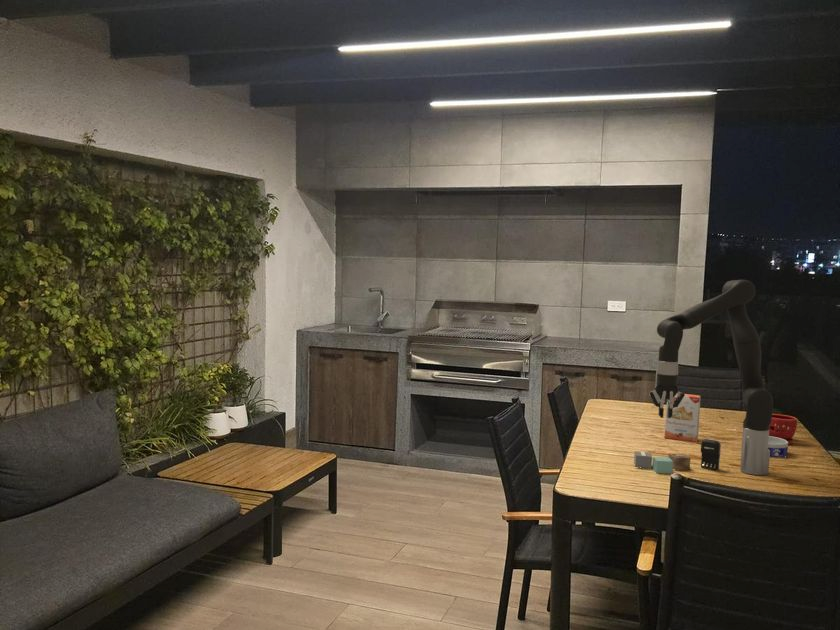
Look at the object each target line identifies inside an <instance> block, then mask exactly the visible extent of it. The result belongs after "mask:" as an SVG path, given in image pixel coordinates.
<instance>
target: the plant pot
mask: <svg viewBox="0 0 840 630" xmlns="http://www.w3.org/2000/svg"><path fill="white" fill-rule="evenodd" d="M797 426H798V418H796V417H794V416H790V415H785V414H775V413H772V420H771V424H770V427H769V436H772V437H777V438H781V439H784V440H786V441H788V445H790V444H792V443H794V441H795V439H794V438H793V437H794V436H795V434H796V431H797Z"/></svg>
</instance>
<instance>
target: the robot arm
mask: <svg viewBox="0 0 840 630" xmlns="http://www.w3.org/2000/svg"><path fill="white" fill-rule="evenodd" d="M755 295H756V287H755V284H754V283H753V282H752V281H750V280H746V279H733V280H732V279H731V280H728V281H726V282H725V283H724V285H723V287H722V294H719V295H717V296H714V297H712V298H710V299H708V300H705V301H702V302H700V303H697V304H695V305H693V306H691V307H690V308H688V309H686V310H684V311H682V312H681V313H677V314H674V315H673V316H670V317H669V316H668V317H667V318H665V319H663V320H661V321H660V322H659V323H658V324H657V326H656V333H657V334H658V336H659V337H661V338H663V339H664V342H663V345H661V346H659V349H658V362H657V366H656V368H657V370H656V386H655V388H654V389H653V390H651V391H650V390H649V391H648V395H649V397H650V399H651V401H652V404H653V406H655V407H658V416H659V417H660V419H663V418H664V404H665V402H666V401H667V400H668V410H667V417H668V418H671V417H672V412H673V408H674V407H678V405H679V404H680V402H681V401H682V399H683V397H684V396H685V394H686V393H683V391H682V392H681V391H679V388H678V381H679V350H680V348H681V344H682V341H683V336H684V330H690V329H694V328H695V327H697V326H699V325H701V324H703V323H705V322H706V321H708V320H709V319H711V318H714V317H715V316H717V315H719V314H721V313H723V312H725V311H726V312H727V316H728V319H729V323H730V324H729V325H730V330H731V331H730V332H731V335H732V340H733V341H732V343H733V347H734V351H735V357H736V360H737V366H738V368H739V372H740V373H739V374H740V378H741V379H740V380H741V390H742V400H743V402H744V404H745V406H746V411H745V418H744V419H743V421H742V423H743V424H742V436H741V437H742V438H741V452H740V453H741V454H740V455H741V456H740V466H739V467H740V468H739V470H740V471H741V472H742V473H745V474H748V475H754V476H764V475H769V474H770V473H769V471H770V459H771V457H770V450H769V449H768V441H769V427H770V424H771V420H772V414H773V411H774V409H773V408H774V398H773V396H772V394H771V392H770V391H768V390H767V389H766V387H765V384H764V381H763V378H762V372H761V369H762V358H763V356H762V347H761V340H760V337H759V333H758V330H757V329H756V327H755V326H754V324H753V322H752V321H751V320H750V318H749V316H748V313H747V308H746V303H749V302H751V301H753V298H754V297H755ZM676 394H677V398H676V400H675V402H674V403H673V398H674V396H675V395H676ZM657 395H658V397H659V398H658V400H657V398H656V396H657ZM665 400H666V401H665Z"/></svg>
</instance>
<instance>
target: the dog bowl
mask: <svg viewBox="0 0 840 630" xmlns="http://www.w3.org/2000/svg"><path fill="white" fill-rule="evenodd" d="M788 448H789V444H788V441H786V440H784V439H781V438H777V437H772V436H769V441H768V449H769V450H770V458H773V457H782V458H785V456H786V457H787V456H788V450H789V449H788Z"/></svg>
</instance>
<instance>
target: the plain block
mask: <svg viewBox="0 0 840 630" xmlns="http://www.w3.org/2000/svg"><path fill="white" fill-rule="evenodd" d="M651 470H653V471H654V472H656V473H655V474H657V473H668V474H667V475H673V471H674V469H673V461H672V460H671V459H670V458H669V456H668V457H667V456H652V466H651ZM669 473H670V474H669Z"/></svg>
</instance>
